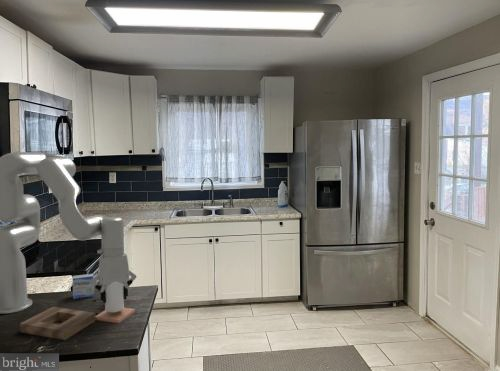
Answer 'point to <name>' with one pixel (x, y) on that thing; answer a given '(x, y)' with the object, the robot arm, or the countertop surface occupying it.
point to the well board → (44, 325)
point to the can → (114, 297)
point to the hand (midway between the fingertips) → (114, 299)
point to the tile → (115, 315)
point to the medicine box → (83, 286)
